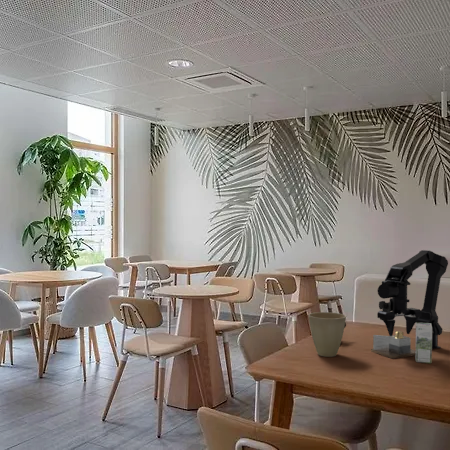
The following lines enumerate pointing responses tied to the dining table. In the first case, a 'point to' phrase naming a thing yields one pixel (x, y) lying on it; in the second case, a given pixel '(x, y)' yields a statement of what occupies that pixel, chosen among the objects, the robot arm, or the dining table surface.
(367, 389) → the dining table surface
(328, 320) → the plant pot
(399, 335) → the hinge pin
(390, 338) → the hinge
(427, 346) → the syrup box
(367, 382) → the dining table surface
